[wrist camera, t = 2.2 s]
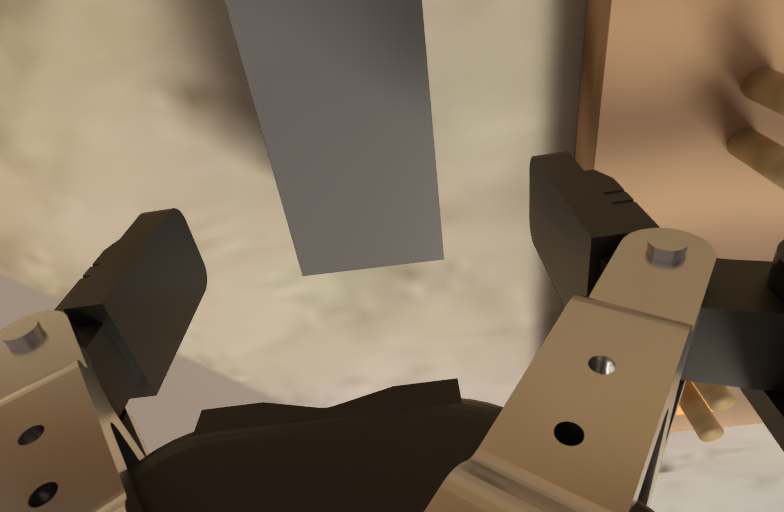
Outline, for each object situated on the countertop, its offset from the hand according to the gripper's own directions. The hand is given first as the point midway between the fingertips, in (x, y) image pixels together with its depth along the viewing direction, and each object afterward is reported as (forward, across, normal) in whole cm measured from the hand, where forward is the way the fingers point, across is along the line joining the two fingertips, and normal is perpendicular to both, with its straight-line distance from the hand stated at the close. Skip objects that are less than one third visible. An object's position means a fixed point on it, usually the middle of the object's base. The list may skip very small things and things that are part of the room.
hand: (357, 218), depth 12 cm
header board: (+8, -13, +7) cm, 17 cm away
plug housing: (+8, 0, -1) cm, 8 cm away
